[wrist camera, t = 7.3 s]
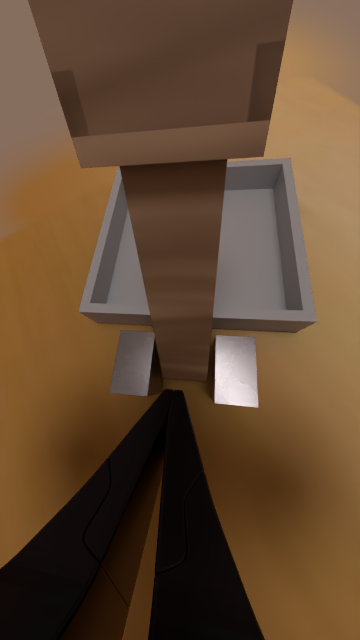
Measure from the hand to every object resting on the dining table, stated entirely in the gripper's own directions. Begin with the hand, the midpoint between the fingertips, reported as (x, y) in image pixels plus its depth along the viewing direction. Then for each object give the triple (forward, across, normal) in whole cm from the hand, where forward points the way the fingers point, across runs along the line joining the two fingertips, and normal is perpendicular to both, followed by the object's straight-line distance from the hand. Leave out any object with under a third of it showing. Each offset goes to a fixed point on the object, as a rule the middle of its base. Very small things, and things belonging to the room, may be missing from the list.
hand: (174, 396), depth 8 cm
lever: (+6, 0, +3) cm, 7 cm away
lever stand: (+6, 0, +4) cm, 7 cm away
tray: (+15, 0, -5) cm, 15 cm away
